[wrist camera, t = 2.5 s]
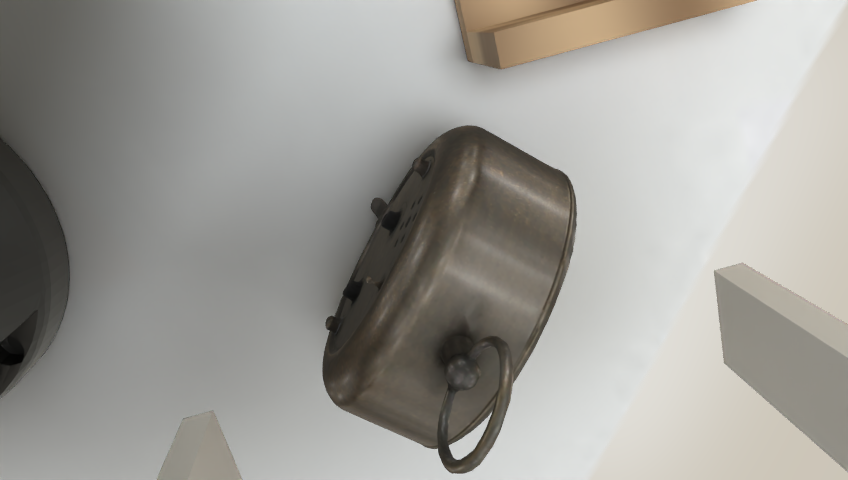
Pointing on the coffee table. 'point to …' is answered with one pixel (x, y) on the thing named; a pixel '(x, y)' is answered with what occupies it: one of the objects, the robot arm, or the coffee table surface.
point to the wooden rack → (563, 24)
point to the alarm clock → (452, 292)
